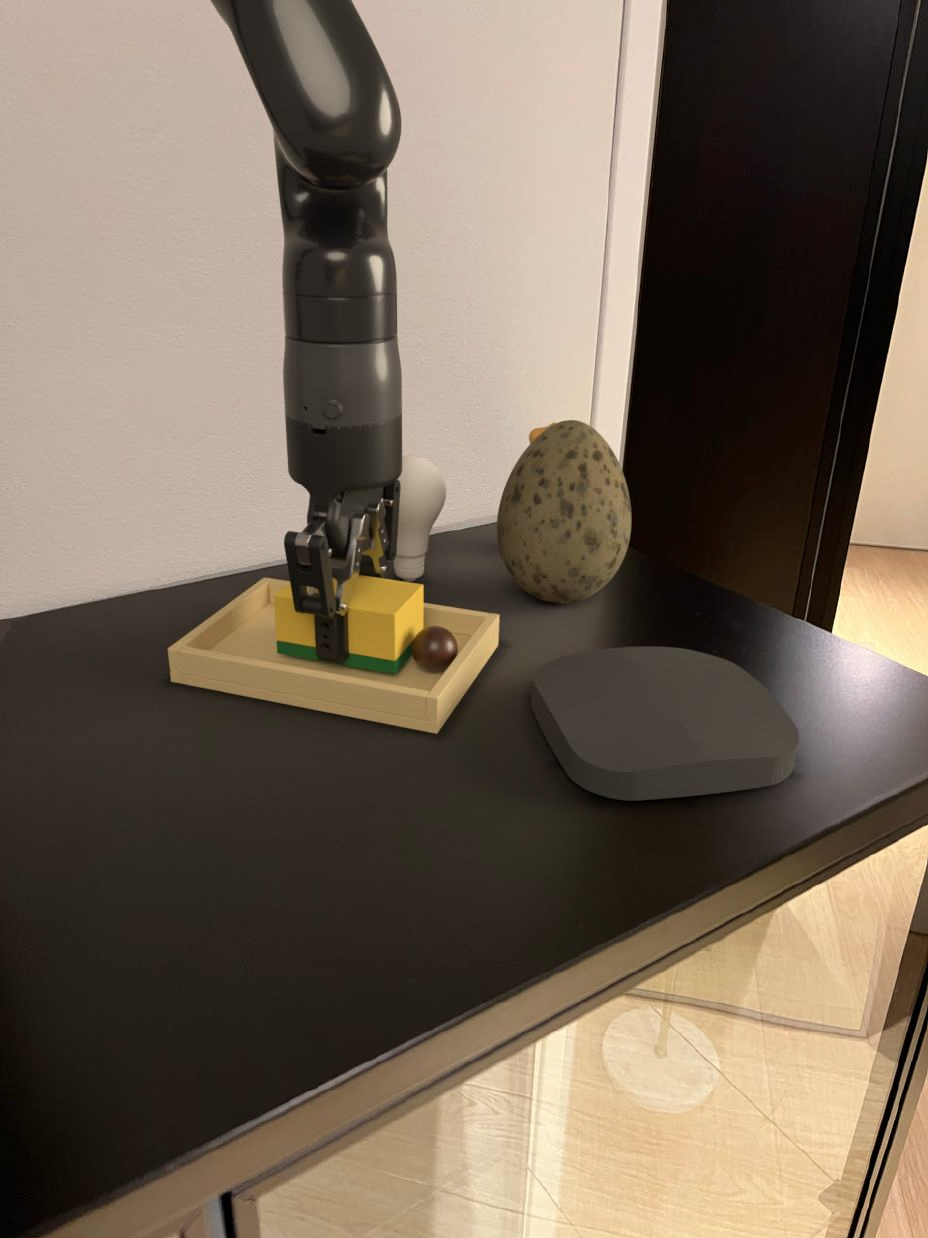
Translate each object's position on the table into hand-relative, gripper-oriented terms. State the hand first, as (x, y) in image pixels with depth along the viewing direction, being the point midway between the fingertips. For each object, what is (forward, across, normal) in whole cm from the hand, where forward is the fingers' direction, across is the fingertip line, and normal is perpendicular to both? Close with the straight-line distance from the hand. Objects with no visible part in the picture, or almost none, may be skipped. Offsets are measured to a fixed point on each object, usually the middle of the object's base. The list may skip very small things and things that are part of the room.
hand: (350, 640), depth 73 cm
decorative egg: (+2, -17, +11) cm, 20 cm away
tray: (+2, 0, -1) cm, 2 cm away
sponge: (0, 0, 0) cm, 0 cm away
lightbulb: (+2, -16, -2) cm, 16 cm away
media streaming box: (+2, +2, +22) cm, 23 cm away
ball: (-1, 0, +6) cm, 6 cm away
